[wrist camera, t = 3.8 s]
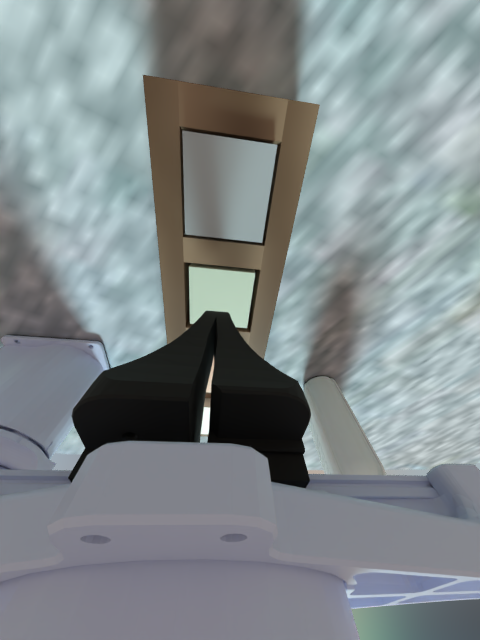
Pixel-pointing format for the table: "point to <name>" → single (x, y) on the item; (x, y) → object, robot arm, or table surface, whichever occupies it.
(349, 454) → the white rounded slab
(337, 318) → the table surface
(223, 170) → the slate key
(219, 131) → the keyboard
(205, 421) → the ivory key
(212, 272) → the sage key
